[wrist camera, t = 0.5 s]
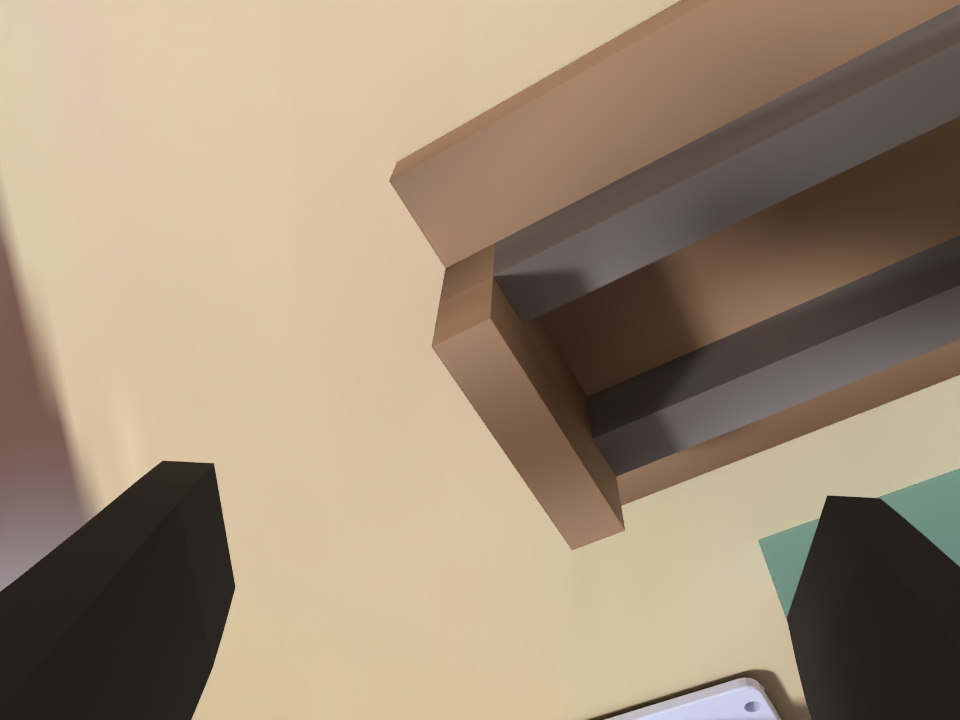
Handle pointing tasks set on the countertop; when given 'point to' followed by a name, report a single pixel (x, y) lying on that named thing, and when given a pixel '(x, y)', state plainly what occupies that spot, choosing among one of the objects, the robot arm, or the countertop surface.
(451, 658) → the countertop surface
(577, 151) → the track base
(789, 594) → the door panel
